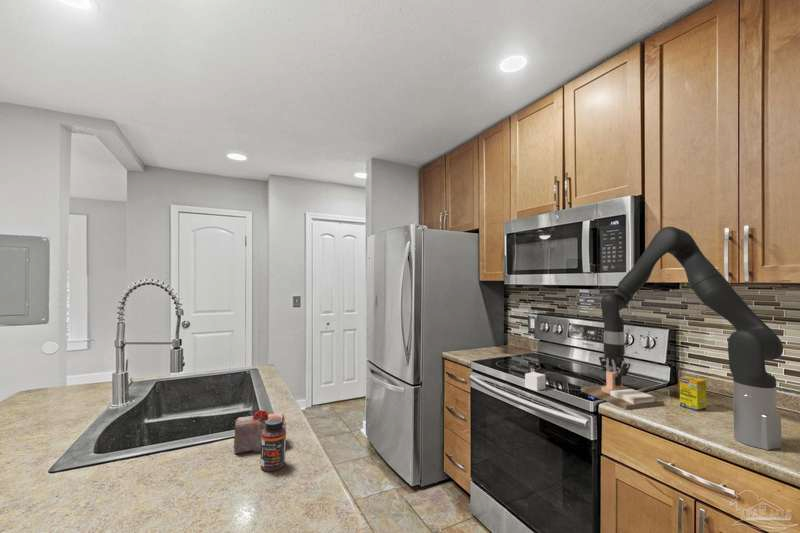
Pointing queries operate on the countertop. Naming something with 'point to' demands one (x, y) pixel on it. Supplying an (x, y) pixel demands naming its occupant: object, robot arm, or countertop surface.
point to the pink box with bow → (252, 430)
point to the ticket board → (616, 400)
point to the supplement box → (693, 393)
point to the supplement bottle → (273, 445)
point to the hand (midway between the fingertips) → (614, 384)
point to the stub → (611, 383)
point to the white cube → (535, 381)
